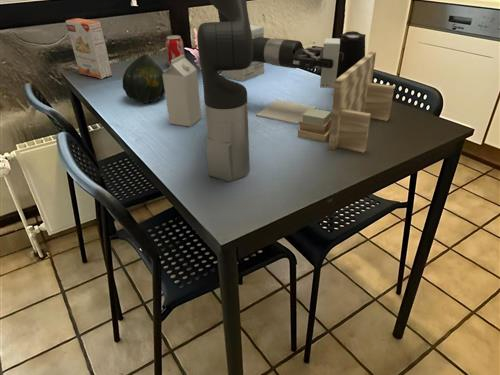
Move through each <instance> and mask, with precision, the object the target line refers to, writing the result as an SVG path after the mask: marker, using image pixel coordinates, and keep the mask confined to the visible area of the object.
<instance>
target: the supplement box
mask: <svg viewBox="0 0 500 375" xmlns="http://www.w3.org/2000/svg"><path fill="white" fill-rule="evenodd" d="M250 28H251V34H252V39H254V38H256V37H263V38H265V32H264V31H265V29H264V28H265V27H264V26H261V25H254V24H250ZM263 74H265V63H262V62H256V61H255V62H252V63H251V65H250V66H249V67H248V68H246V69H242V70H230V71H223V72H222V73H221V76H222V77H224V78H227V79H228V78H229V79H232V80H237V81H240V82H245V81H247V80H250V79H253V78H254V77H255V78H256V77H258V76H260V75H263Z"/></svg>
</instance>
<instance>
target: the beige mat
mask: <svg viewBox="0 0 500 375" xmlns="http://www.w3.org/2000/svg"><path fill="white" fill-rule="evenodd" d="M310 108H312V109H318V107H317V106H315V105H309V104H303V103H299V102H292V101H287V100H282V99H276V100H275V101H273V102H272V103H270V104H269V105H267V106H266V107H264V108H263V109H262V110H260V111H258V113H256V114H255V116H256V117H259V118H264V119H269V120H273V121H278V122H284V123H289V124H293V125H297V126H298V125H300V121H301V120H302V119H303V114H304V113H305V112H306V111H307V110H309V109H310Z"/></svg>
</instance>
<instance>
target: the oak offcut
mask: <svg viewBox="0 0 500 375" xmlns="http://www.w3.org/2000/svg"><path fill="white" fill-rule="evenodd" d="M331 118H332V117H330V120H329V121H328V122H327V123H326V124H325V125H324V126H322V125H317V124H312V123H307V122H302V120H301V121H300V123H299V129H300V130H302V131H307V132H312V133H316V134H321V135H325V134H326V132H327V131H328V130H329V129H330V128H331Z"/></svg>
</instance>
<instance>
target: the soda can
mask: <svg viewBox="0 0 500 375" xmlns="http://www.w3.org/2000/svg"><path fill="white" fill-rule="evenodd" d="M165 46H166V47H165V48H166V50H165V51H166V56H167V63H168V65H169V66H168V67H170V66H171V60H173V59H175V58H177V57H179V56H181V55H183V54H185V48H184V42H183V39H182V38H181V35H179V34H176V35H175V34H174V35H173V34H172V35H168V36H166V40H165Z"/></svg>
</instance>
